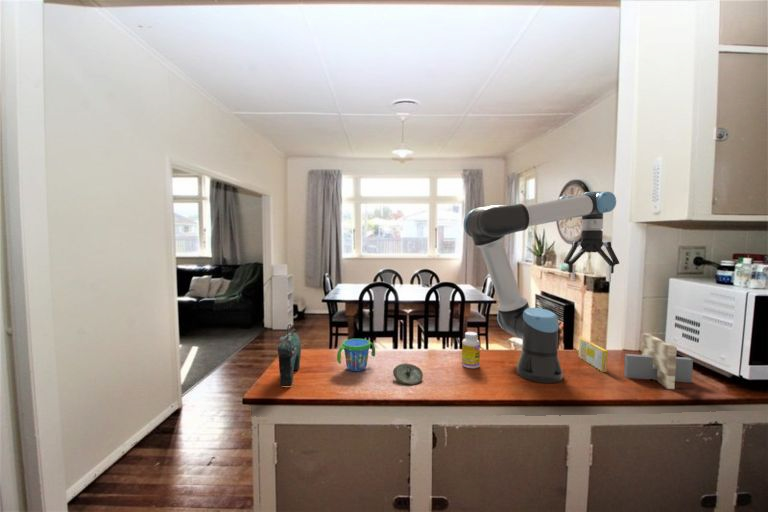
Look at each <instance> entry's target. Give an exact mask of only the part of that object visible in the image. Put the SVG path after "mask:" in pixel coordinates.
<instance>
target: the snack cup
mask: <svg viewBox="0 0 768 512" xmlns="http://www.w3.org/2000/svg"><path fill="white" fill-rule="evenodd" d="M370 348H371V351H370V353H371V354H370V355H371V356H372V357H375V356H376V346H375V345H374V344H373V342H371V341H370V340H368V339H365V338H350V339H349V338H348V339H346V340H344V341H343V342H342V345H341V346H340V347H339V349H338V350H337V353H336V360H337V363H338V364H341V363H342V361H341V360H342V359H341V358H342V357H341V356H342V351H344V357H345V363H346V365H345V366H346V369H347V370H349V371H352V372H361V371H363V370H364V369H365V370H366V369H367V365H368V359H369V350H370Z"/></svg>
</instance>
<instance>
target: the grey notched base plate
mask: <svg viewBox="0 0 768 512" xmlns="http://www.w3.org/2000/svg"><path fill="white" fill-rule="evenodd" d="M693 363H694V359H692V358H691V357H681V356H676V370H675V382H682V383H692V382H693V368H694V367H693V365H694V364H693ZM657 370H658V369H657V368H655V367H653V357H652V356H650V355H642V354H634V353H633V354H632V353H630V354H629V353H625V354H624V370H623V373H624V374H623V376H624V377H625V376H626V377H627V379H636V380H637V379H639V380H650V379H653V380H654V381H657ZM626 377H625V378H626ZM653 380H652V381H653Z"/></svg>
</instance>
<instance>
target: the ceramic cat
mask: <svg viewBox="0 0 768 512" xmlns="http://www.w3.org/2000/svg"><path fill="white" fill-rule="evenodd" d="M291 327H292V324H291V323H290V324H288V325H287V328H286V335H285V336H284V335H282V336H280V337H279V339H278V343H277V355H278V367H279V368H278V369H279V378H280V379H279V382H280V387H281V386H291V385H292V386H293V384H292V383H294V371H293V370H297V369H299V370H300V365H301V363H300V362H301V354H302V344H301V340H300V339H301V338H300V336H299V334H298V333H297V329H295V328H293V329H292V330H291V332H289V328H291ZM297 371H298V370H297Z"/></svg>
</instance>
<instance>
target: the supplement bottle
mask: <svg viewBox="0 0 768 512" xmlns="http://www.w3.org/2000/svg"><path fill="white" fill-rule="evenodd" d="M461 342H462V344H461V345H462V348H461V364H462V367H464V368H467V369H478V368H479V367H480V360H481V359H480V356H481V354H480V353H481V352H480V351H481V342H480V340H478V333H477V332H475V331H466V332H465V333H464V338H463V339H462V341H461Z"/></svg>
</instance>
